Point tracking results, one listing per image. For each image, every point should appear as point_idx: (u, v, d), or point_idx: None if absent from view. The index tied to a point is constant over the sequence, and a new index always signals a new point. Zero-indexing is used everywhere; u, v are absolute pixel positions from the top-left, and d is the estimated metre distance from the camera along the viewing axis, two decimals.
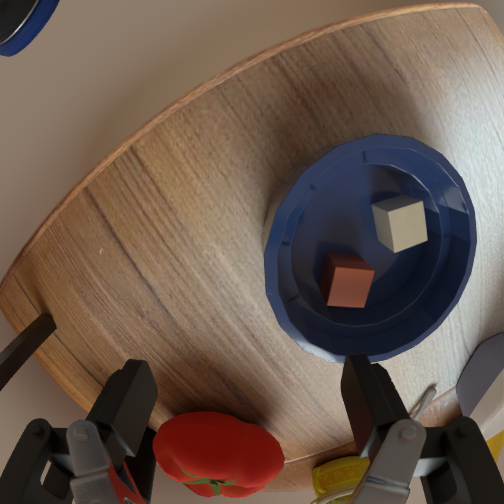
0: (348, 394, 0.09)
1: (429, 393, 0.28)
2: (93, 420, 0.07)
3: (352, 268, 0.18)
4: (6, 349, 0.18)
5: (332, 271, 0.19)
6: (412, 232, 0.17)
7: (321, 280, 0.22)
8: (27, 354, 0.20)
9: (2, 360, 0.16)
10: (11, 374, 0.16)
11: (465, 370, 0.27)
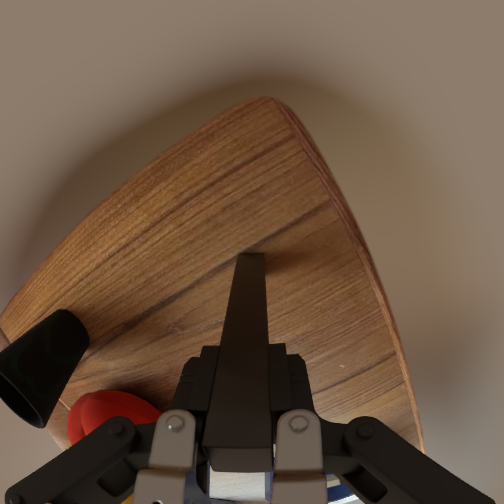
0: None
1: None
2: None
3: None
4: None
5: None
6: None
7: None
8: None
9: None
10: None
11: (213, 500, 0.39)
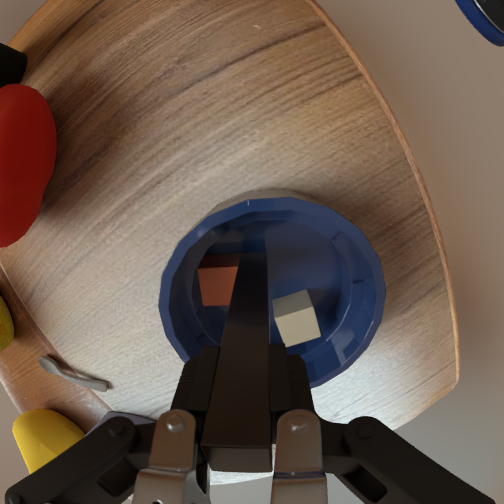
0: None
1: (102, 385, 0.29)
2: None
3: None
4: None
5: (231, 263, 0.20)
6: (293, 331, 0.22)
7: (213, 255, 0.22)
8: None
9: None
10: None
11: (132, 416, 0.31)
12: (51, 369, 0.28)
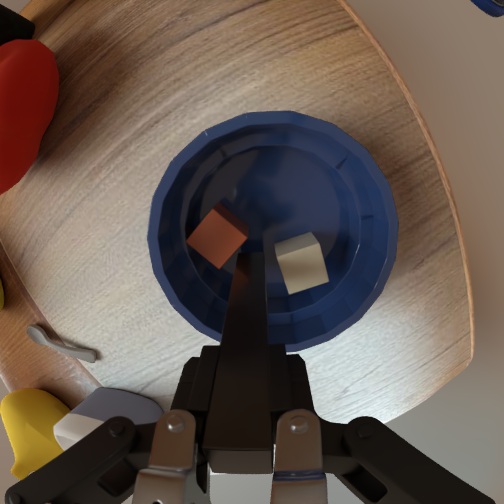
0: None
1: (90, 354, 0.27)
2: None
3: (235, 251, 0.19)
4: None
5: (241, 230, 0.19)
6: (297, 273, 0.20)
7: (226, 209, 0.21)
8: None
9: None
10: None
11: (122, 392, 0.29)
12: (39, 339, 0.27)
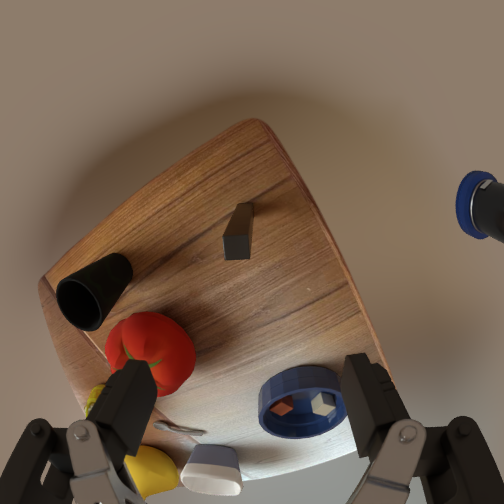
0: (349, 394, 0.09)
1: (200, 433, 0.52)
2: (93, 420, 0.07)
3: (288, 411, 0.44)
4: (251, 219, 0.28)
5: (291, 405, 0.44)
6: (321, 410, 0.44)
7: None
8: None
9: None
10: None
11: (214, 446, 0.54)
12: (162, 427, 0.52)
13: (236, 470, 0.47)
